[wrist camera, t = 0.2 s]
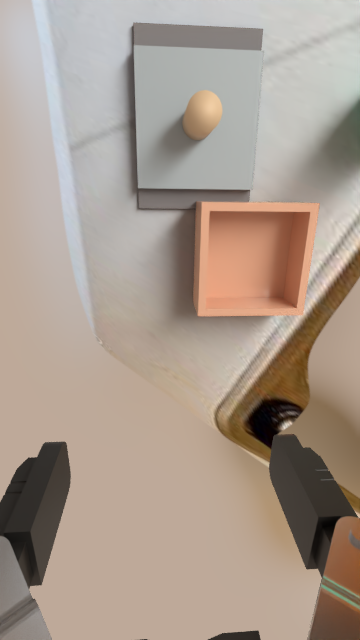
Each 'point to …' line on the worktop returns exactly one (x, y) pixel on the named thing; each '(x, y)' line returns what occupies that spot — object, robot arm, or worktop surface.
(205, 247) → the dish
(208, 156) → the lid
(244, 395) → the worktop surface
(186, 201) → the mat
